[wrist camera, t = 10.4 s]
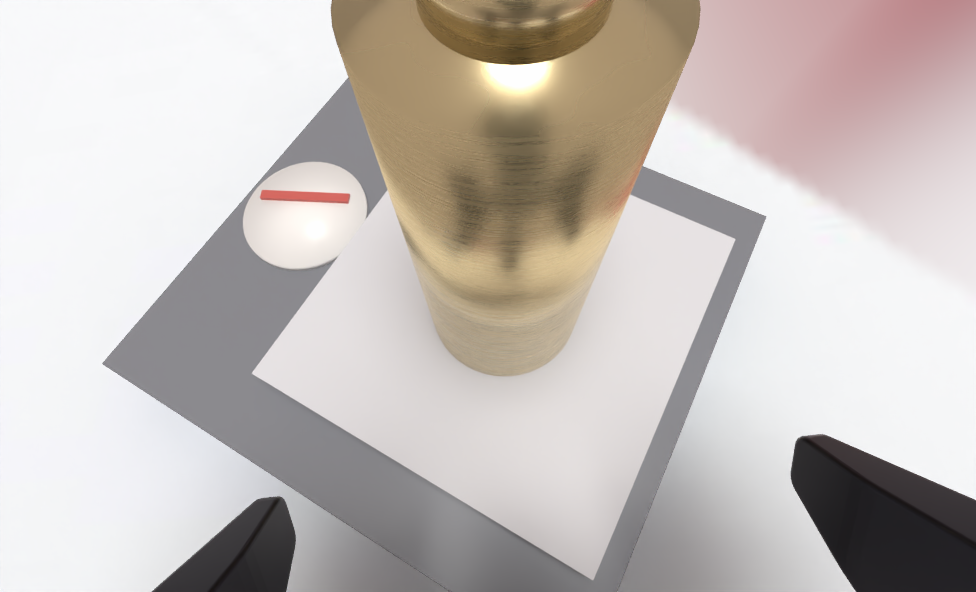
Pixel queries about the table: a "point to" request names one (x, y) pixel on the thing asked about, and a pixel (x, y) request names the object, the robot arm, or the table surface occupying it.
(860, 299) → the table surface
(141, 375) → the scale
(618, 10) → the brass weight
